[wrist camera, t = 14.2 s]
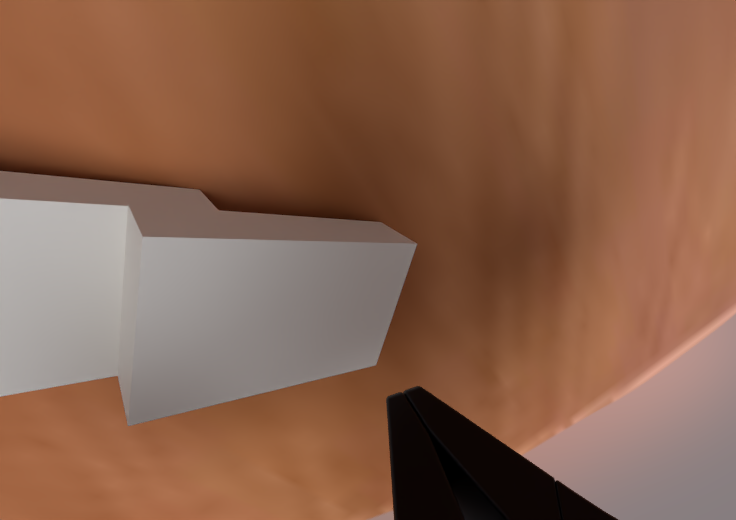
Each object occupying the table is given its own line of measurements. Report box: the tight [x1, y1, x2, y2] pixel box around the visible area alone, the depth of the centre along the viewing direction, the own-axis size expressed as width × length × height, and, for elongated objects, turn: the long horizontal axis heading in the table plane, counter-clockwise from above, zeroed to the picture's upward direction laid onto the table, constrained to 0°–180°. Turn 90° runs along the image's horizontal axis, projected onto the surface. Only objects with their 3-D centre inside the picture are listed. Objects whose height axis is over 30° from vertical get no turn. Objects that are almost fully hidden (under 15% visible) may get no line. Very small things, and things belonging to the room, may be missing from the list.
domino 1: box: [0, 171, 218, 396], centre depth 9 cm, size 2×5×8 cm
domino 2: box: [117, 204, 417, 426], centre depth 12 cm, size 2×5×8 cm
